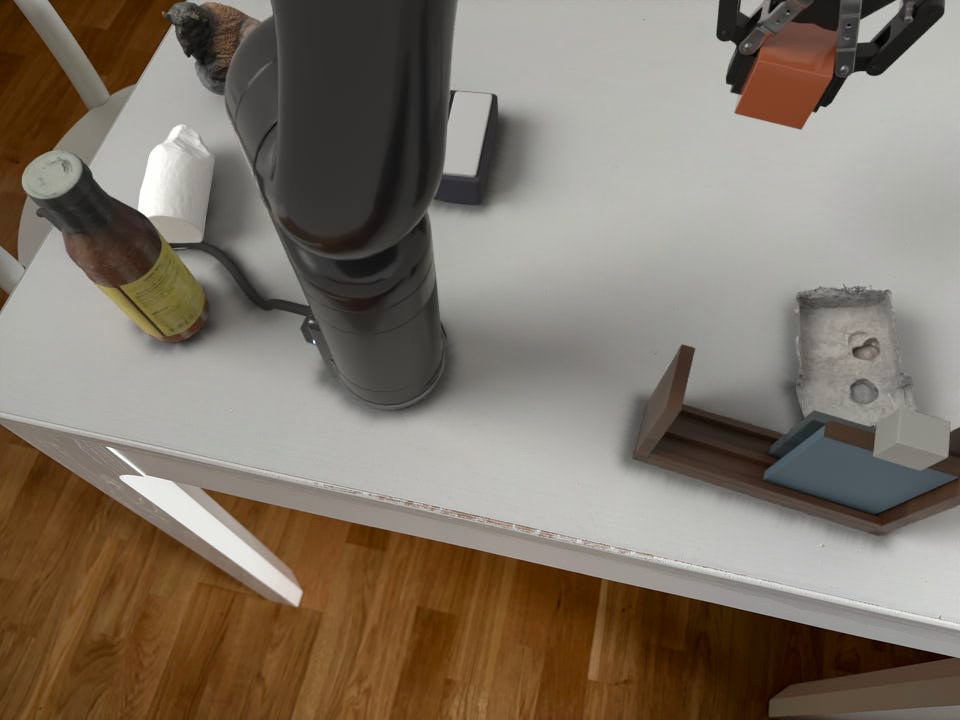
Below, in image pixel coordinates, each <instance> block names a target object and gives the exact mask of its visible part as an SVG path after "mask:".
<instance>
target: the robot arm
mask: <svg viewBox="0 0 960 720" xmlns="http://www.w3.org/2000/svg"><path fill="white" fill-rule="evenodd" d="M896 1H897V0H763V1H762V2H761V3H760V5H759V6H758V7H757V8H755V10H753V12H752V13H751V14H750V15H749V16H748V15H746V14H744V13H743V12H741V5H742V0H718V10H717V20H716V32H715V36H716V38H717V40H718V41H720V42H723V43H725V42H732V43H733V44H734V45H735V49H734V51H733V53H732V55H731V58H730V60H729V63H728V66H727V70H726V75H725V84H726V85H730V86H731V87H730V91H729V92H730V93H731V94H735V95H738V94H740V92H741V90H742V88H743V85H744V83H745V81H746V79H747V77H748V74H749V72H750V70H751V68H752V66H753V63H754V61H755V59H756V56H757V51H758V49H759V48H760V47H761V46H762V45H763V44H764V43H765V42H766V41H767V40H768V39H769V38H770V37H771V36H773V37H774V36H776V35H777V34H778V33H779V32H780V31H781V30H782V29H783V28H784V27H785V26H786V25H787V24H788V23H790V22H795V23H807V24H815V25H817V26H819V27H821V28H823V29H826V30H830V31H835V32H836V30H837V28H838V34H837V44H836V56H835V63H834V70H833V76H832V79H831V81H830V82H829V84H828V86H827V88H826V89H825V91H824V93H823V94H822V96H821V98H820V99H819V101H818V103H817V104H816V106H815V108H814V110H813V111H812V113H815V114H817V112H819V109H820V107H823V108H827V107H829V106H830V105H831V104H832V103H833V101H834V100H835V99H836V97H837V95H838V93H839V92H840V90H841V88H843V85H844V84H845V82H846V80H847V79H848V77H849V76H851V75H852V74H854V73H858V72H865V73H866V74H867V75H868V76H870V77H879V76H880V75H882V74H884V73H885V72H886V71H887V70H888V69H889V68H890V67H891V66H892V65H893V64H894V63H895V62H897V60H899V59H900V58H901V57H902V56H903V54H905V53H906V52H907V51H908V50H909V49H910V48H911V47H912V46H913V45H914V44H915V43H916V42H917V41H919V40H920V39H921V38H922V36H924V35H925V34H926V33H927V32H929V30H930V29H931V28H932V27H933V26H934V25H935V24H936V23H937V22H939V21H940V20H941V19H942V17H943V16H944V14H945V10H946V0H900V1H899V3H898V12H897V13H896V14H895V15H894V16H893V17H892V18H891V19H890V20H889V21H888V22H887V23H886V24H885V25H884V26H883V27H882V28H881V30H880V31H878V33H877V34H875V36H874V37H872V38H871V40H870V41H867V42H866V41H865V42H858V41H859V33H860V26H861V20H863V19H865V18H867V17H869V16H870V15H872V14H874V13H876V12H878V11H880V10H882V9H883V8H885V7H887V6H889V5H891V4H893V3H894V2H896ZM458 3H459V0H270V6H271V10H272V15H270V16H268V17H267V18H265V19H264V20H262V21H261V23H260V24H258V25H257V26H256V27H255V28H254V29H253V30H252V31H251V32H250V33H249V34H248V35H247V36H246V37H245V38H244V39H243V41H242V42H241V43H240V45H239V46H238V48H237V50H236V51H235V53H234V55H233V57H232V60H231V62H230V65H229V68H228V71H227V75H226V81H225V91H224V93H225V95H224V104H225V111H226V115H227V119H228V121H229V124H230V127H231V129H232V131H233V133H234V136H235V138H236V140H237V143H238V145H239V148H240V149H241V152H242V154H243V157H244V160H245V162H246V164H247V167H248V169H249V172H250V174H251V176H252V179H253V182H254V183H255V186H256V189H257V191H258V194H259V196H260V199H261V201H262V203H263V205H264V206H265V208H266V209H267V212H268V215H269V217H270V219H271V222H272V224H273V226H274V229H275V231H276V233H277V236H278V239H279V241H280V244H281V246H282V248H283V251H284V252H285V255H286V258H287V260H288V261H289V264H290V265H291V267H292V271H293V272H294V274H295V276H296V278H297V281H298V283H299V286H300V288H301V290H302V292H303V295H304V298H305V299H306V302H307V304H308V305H306V304H303V303H298V302H295V301H290V300H286V299H280V298H270V299H268V300H267V299H266V298H264V297H263V296H261V294H259V293H258V292H257V290H256V289H255V288H254V287H253V285H252V284H251V283H250V281H249V280H248V278H247V277H246V275H245V274H244V273H243V272H242V270H241V269H240V267H239V266H238V264H236V262H234V260H233V259H232V257H230V256H229V255H228V254H227V253H226V252H224V251H223V250H222V249H221V248H219V247H218V246H217V247H216V246H215V245H214V244H211V243H209V242H207V241H204V240H203V241H202V242H201V243H168V244H169V245H170V246H171V248H185V249H194V250H198V251H202V252H204V253H207V254H208V255H210V256H211V257H213V258H215V259H216V260H217V261H218V262H220V264H221V265H222V266H224V268H225V269H226V270H227V271H228V272H229V274H230V275H231V276H232V278H233V279H234V281H235V282H236V284H237V285H238V286H239V288H240V289H241V291H242V292H243V293H244V295H245V296H246V297H247V298H248V299H249V300H250V301H251V302H252V303H253V304H254V305H255V306H256V307H258V308H259V309H261V310H263V311H266V312H269V311H274V310H278V311H283V312H287V313H290V314H296V315H299V316H304V317H305V318H304V319H303V321H302V323H301V325H300V328H299V330H300V332H301V334H302V336H303V338H304V340H305V341H306V343H308V344H311V345H313V346H316V348H317V350H318V352H319V355H320V357H321V359H322V361H323V363H324V365H325V367H326V370H327V371H328V374H329V376H331V377H332V378H336V379H338V380H340V381H339V382H341V385H342V387H343V388H344V389H345V391H346V392H347V393H348V394H349V396H351V397H352V398H353V399H354V400H355V401H357V402H359V403H360V404H362V405H364V406H366V407H369V408H371V409H375V410H380V411H381V410H382V411H395V410H396V411H397V410H402V409H405V408H410V407H411V406H414V405H416V404H418V403H420V402H421V401H423V400H424V399H425V398H427V397H428V396H429V395H430V394H431V393H432V392H433V391H435V389H436V387H437V386H438V385H439V383H440V382H441V379H442V376H443V374H444V370H445V367H446V366H445V365H446V351H445V344H444V340H443V336H444V338H445V341H446V342H448V338H447V333H446V330H445V327H444V324H443V323H442V320H441V311H440V299H439V290H438V279H437V272H436V263H435V253H434V251H435V250H434V241H433V240H434V239H433V230H432V224H431V218H430V215H429V208H430V207H431V204H432V203H433V201H434V199H435V198H436V197H435V195H436V193H437V190H438V187H439V184H440V181H441V178H442V174H443V169H444V163H445V154H446V142H447V126H448V110H449V95H450V90H451V79H452V65H453V64H452V62H453V49H454V39H455V30H456V29H455V27H456V20H457V10H458ZM35 215H36V216H37V217H38V218H44V219H46V220H47V221H48V222H49V223H50V224H52V225H53V226H54V227H55V228H56V229H57V230H58V231H60V233H62V231H61V228H62V227H60V226H59V225H58V223H57V221H56V219H55V218H54V217H53V216H52V215H51V214H50V213H49V212H48V211H47V210H46V209H44V208H41V207H38V208H37V209H36V211H35Z"/></svg>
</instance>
